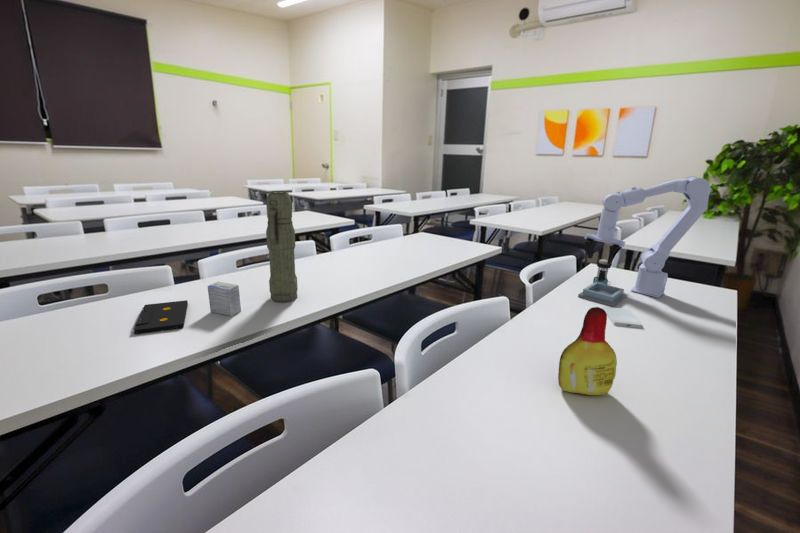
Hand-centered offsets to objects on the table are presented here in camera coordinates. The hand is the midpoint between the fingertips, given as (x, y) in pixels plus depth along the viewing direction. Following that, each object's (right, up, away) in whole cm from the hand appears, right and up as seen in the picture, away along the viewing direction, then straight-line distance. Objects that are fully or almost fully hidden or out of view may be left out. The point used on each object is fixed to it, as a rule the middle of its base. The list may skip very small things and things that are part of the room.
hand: (599, 260), depth 155 cm
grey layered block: (-131, -16, -34) cm, 136 cm away
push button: (+2, -10, +3) cm, 10 cm away
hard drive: (-7, -19, -27) cm, 34 cm away
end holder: (-4, -13, -10) cm, 17 cm away
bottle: (-37, -30, -66) cm, 82 cm away
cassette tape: (-146, -18, -39) cm, 152 cm away
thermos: (-116, -13, -21) cm, 119 cm away
